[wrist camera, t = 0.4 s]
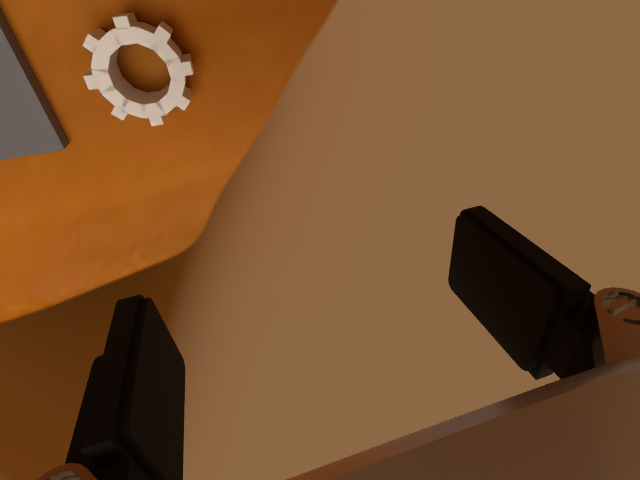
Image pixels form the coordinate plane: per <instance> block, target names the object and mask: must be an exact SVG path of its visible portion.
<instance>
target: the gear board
mask: <svg viewBox="0 0 640 480" xmlns="http://www.w3.org/2000/svg"><path fill="white" fill-rule="evenodd" d="M68 144H69V141H68V139H67V137H66V135H65V133H64V132H63V130H62V128H61V126H60V124H59V122H58V120H57V118H56V116H55V114H54V112H53V110H52V108H51V106H50V104H49V102H48V100H47V98H46V96H45V94H44V92H43V90H42V89H41V87H40V85H39V83H38V81H37V79H36V77H35V75H34V73H33V71H32V69H31V67H30V65H29V63H28V61H27V59H26V57H25V55H24V53H23V51H22V49H21V48H20V46H19V44H18V42H17V40H16V38H15V36H14V34H13V32H12V30H11V28H10V26H9V24H8V22H7V20H6V18H5V16H4V14H3V12H2V10H1V8H0V160H4V159H9V158H15V157H21V156H27V155H33V154H39V153H45V152H50V151H56V150H62V149H65V148H66V146H67V145H68Z"/></svg>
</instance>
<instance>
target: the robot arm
mask: <svg viewBox="0 0 640 480" xmlns="http://www.w3.org/2000/svg"><path fill="white" fill-rule="evenodd" d="M448 281H449V285H450V288H451V289H452V291H453V292H454V293H455V294H456V295H457V296H458V297H459V299H460V300H461V301H462V302H463V303H464V304H465V305H466V307H467V308H468V309H469V310H470V311H471V312H472V313H473V315H474V316H475V317H476V318H477V319H478V320H479V321H480V322H481V324H482V325H483V326H484V327H485V328H486V329H487V330H488V332H489V333H490V334H491V335H492V336H493V337H494V338H495V340H496V341H497V342H498V343H499V344H500V345H501V346H502V348H503V349H504V350H505V351H506V352H507V353H508V354H509V356H510V357H511V358H512V359H513V360H514V361H515V362H516V364H517V365H518V366H519V367H520V368H521V369H523V370H525V371H529V373H530V374H531V375H532V376H533V377H534V378H535V379H536V380H537V379H540V378H543V377H546V376H548V375H551V374H552V373H553V372H554V373H555V374H556V375H557V376H558V377H559V378H560V380H558V381H555V382H552V383H549V384H546V385H544V386H541V387H538V388H535V389H533V390H530V391H527V392H524V393H522V394H519V395H516V396H513V397H510V398H508V399H505V400H502V401H499V402H497V403H494V404H491V405H488V406H485V407H483V408H480V409H477V410H474V411H472V412H469V413H466V414H463V415H461V416H458V417H455V418H452V419H450V420H447V421H444V422H441V423H439V424H436V425H433V426H431V427H428V428H425V429H422V430H420V431H417V432H414V433H411V434H409V435H406V436H403V437H400V438H398V439H395V440H392V441H389V442H387V443H384V444H381V445H379V446H376V447H373V448H370V449H368V450H365V451H362V452H359V453H357V454H354V455H351V456H349V457H346V458H343V459H341V460H338V461H335V462H333V463H330V464H327V465H325V466H322V467H319V468H317V469H314V470H311V471H309V472H306V473H303V474H300V475H298V476H295V477H292V478H290V479H287V480H640V293H638V292H635V291H632V290H628V289H624V288H614V287H613V288H605V289H602V290H600V291H598V292H597V293H596V294H595V295H594V294H593V293H592V292H590V291H589V290H590V287H591V285H590V284H589V283H588V282H586V281H585V280H583V279H582V278H581V277H579V276H578V275H577V274H575V273H574V272H572V271H571V270H570V269H568V268H567V267H566V266H564V265H563V264H561V263H560V262H559V261H557V260H556V259H554V258H553V257H552V256H550V255H549V254H548V253H546V252H545V251H544V250H542V249H541V248H539V247H538V246H537V245H535V244H534V243H533V242H531V241H530V240H528V239H527V238H526V237H524V236H523V235H521V234H520V233H519V232H517V231H516V230H515V229H513V228H512V227H511V226H509V225H508V224H506V223H505V222H504V221H502V220H501V219H500V218H498V217H497V216H496V215H494V214H493V213H491V212H490V211H488V210H487V209H486V208H484V207H483V206H476V207H472V208H469V209H465V210H463V211H461V213H460V216H458V217H457V219H456V224H455V232H454V239H453V247H452V255H451V262H450V270H449V278H448ZM184 400H185V364H184V360H183V358H182V355H181V354H180V352H179V350H178V348H177V346H176V344H175V342H174V340H173V338H172V336H171V335H170V333H169V331H168V329H167V327H166V325H165V323H164V321H163V320H162V318H161V316H160V314H159V312H158V310H157V308H156V306H155V304H154V302H153V300H152V299H151V298H144V297H143V296H142V295H136V296H132V297H128V298H124V299H120V300H118V301H117V303H116V306H115V310H114V314H113V318H112V322H111V326H110V330H109V334H108V338H107V342H106V346H105V350H104V354H103V355H101V356H98V357H97V358H96V359H95V360H94V362H93V365H92V368H91V372H90V375H89V379H88V382H87V386H86V390H85V393H84V397H83V401H82V404H81V408H80V412H79V415H78V419H77V422H76V426H75V429H74V433H73V437H72V440H71V444H70V448H69V451H68V455H67V459H66V462H65V464H64V465H60V466H58V467H55V468H53V469H51V470H49V471H48V472H46V473H45V474H43V475H42V476H41V477H39V478H38V479H37V480H183V445H184V444H183V443H184V403H185V401H184Z"/></svg>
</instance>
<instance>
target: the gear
mask: <svg viewBox="0 0 640 480" xmlns="http://www.w3.org/2000/svg"><path fill="white" fill-rule="evenodd" d="M112 18H113V21H114V24H115V26H116V27H114V28H113V29H111V30H110V31H109V32H105V31H104V30H102V29H101V28H99V29H97V30H95V31H93V32H91V33H89V34H88V35H87V37H86V39H85V41H84V44H83V47H85V48H87V49H88V50H90V51H91V52H93V56H92V64H91V70H90V71H89V72H88V73H86V74H85V75H84V76H83V77H84V80H85V82H86V84H87V86H88V89H89V90H91V89H98V88H99V90H100V93H102V92H103V93H102V95H103V96H104V97H105V98H106V99H107V100H109V101H110V102H111V103H112V104H113V105H114V106H115V107H114V109H113V111H112V113H111V114H112V115H114V116H116V117H118V118H119V119H121V120H124V119H125V117H126V115H127V113H128V114H131V115H134V116H137V117H140V118H143V117H144V118H149V120H150V123H151V126H156V125H162V124H164V120H165V115H166V114H167V113H169V112H170V111H171V110H172V109H173V108H174V107H175V106H178V107H179V108H181V109H182V110H185V109H186V107H187V106H188V104H189V102H190V89H189V88H188V87H186V86H185V82H186V76H187V75H193V63H192V59H191V55H190V53H188V54H182V53H181V50H180V48H179V47H178V46H177V45H176V44H175V43H174V41H173V40H172V39H171V38H170V36H171V34H172V32H173V28H171V27H170V26H169V25H167V24H166V23H165V22H163V21H162V22H161V23H160V24H159V26H158V28H156V27H154V26H152V25H149V24H147V23H145V22H137V19H136V16H135V13H134V12H130V13H121V14H119V15H117V16H114V17H112ZM137 43H138V44H140V45H143V46H145V47H147V48H150V49H152V50H154V51H155V52H156V53H157V54H158V55H159V56H160V57H161V58H162V59H163V60H164V62H165V63H166V64H167V68H168V71H169V74H170V77H171V81H170V83H168V84H167V85H166V86H165V87H164V88H163V89H162V90H160V91H153V92H145V91H142V90H140V89H137V88H134V87H133V86H132V85H131V84H130V83H129V82H128V81H127V80H126V79H124V78H123V77H122V74H121V72H120V69H119V66H118V64H117V58H118V52H119V48H120V47H121V46H122V45H129V44H137Z"/></svg>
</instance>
